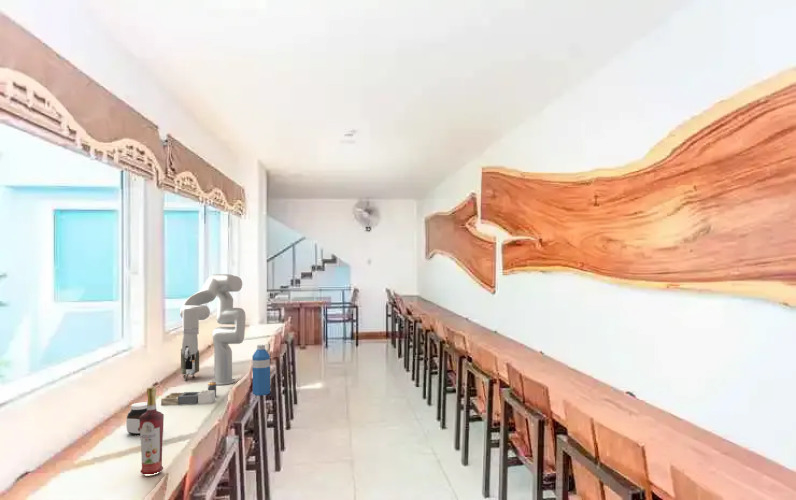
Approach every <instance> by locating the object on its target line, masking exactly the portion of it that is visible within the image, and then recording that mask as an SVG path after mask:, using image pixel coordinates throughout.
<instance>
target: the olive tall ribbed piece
mask: <svg viewBox="0 0 796 500" xmlns="http://www.w3.org/2000/svg"><path fill="white" fill-rule="evenodd" d="M188 355H189V354H188ZM194 360H196V367H195V374H197V373H199V372H200V351H199V349H198V351H197V353H196V359H194ZM180 372H181V374H182V378H184V381H185V382H187V381H188V377H189V375H186V369H185V356H184V355H182V348H181V349H180ZM195 374H194V375H191V376H192V377H191V378H192V379H193V378H194V379H195V378H196V376H195Z"/></svg>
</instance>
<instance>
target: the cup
mask: <svg viewBox="0 0 796 500" xmlns="http://www.w3.org/2000/svg"><path fill="white" fill-rule="evenodd" d="M198 392H199V393H198V403H197V405H202V404H203V405H211V404H213V403H214V402H215V401H216V397H215V390H208V389H207V390H200V391H198Z"/></svg>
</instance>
